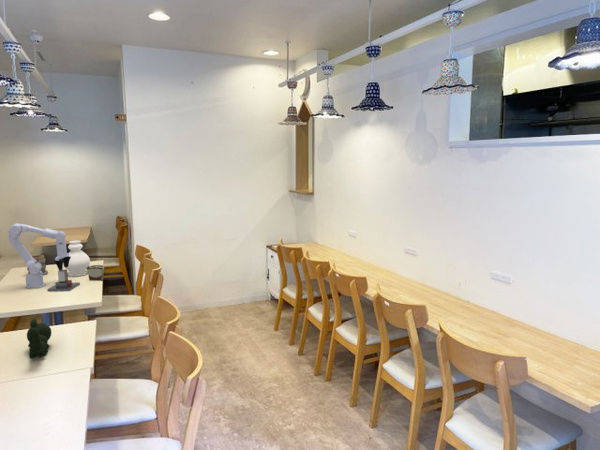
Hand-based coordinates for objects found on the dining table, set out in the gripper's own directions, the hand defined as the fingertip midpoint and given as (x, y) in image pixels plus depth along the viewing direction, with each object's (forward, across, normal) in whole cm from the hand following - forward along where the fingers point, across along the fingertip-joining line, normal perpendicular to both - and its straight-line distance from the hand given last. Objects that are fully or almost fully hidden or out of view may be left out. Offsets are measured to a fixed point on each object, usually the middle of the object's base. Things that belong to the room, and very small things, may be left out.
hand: (63, 268), depth 282 cm
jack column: (+5, -11, -5) cm, 13 cm away
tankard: (+11, +20, +30) cm, 38 cm away
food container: (+11, +8, -19) cm, 23 cm away
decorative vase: (+11, +23, +2) cm, 25 cm away
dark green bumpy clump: (+11, -105, -41) cm, 114 cm away
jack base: (+10, -11, -5) cm, 16 cm away
